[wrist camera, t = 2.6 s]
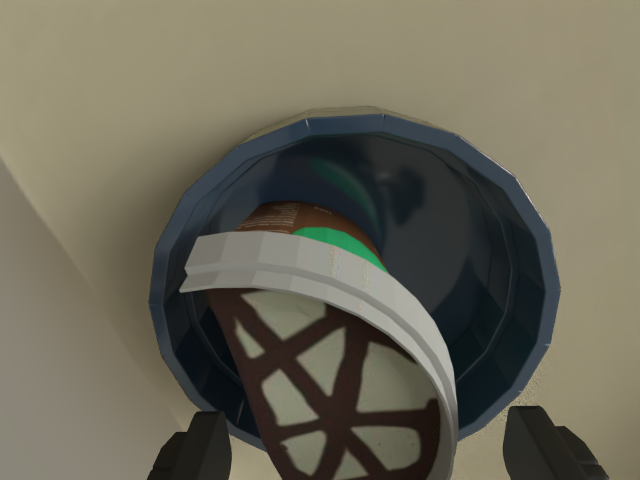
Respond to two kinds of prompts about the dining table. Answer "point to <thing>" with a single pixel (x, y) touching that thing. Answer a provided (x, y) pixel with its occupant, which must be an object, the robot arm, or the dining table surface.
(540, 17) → the dining table surface
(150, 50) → the dining table surface
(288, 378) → the food container
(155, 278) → the bowl
